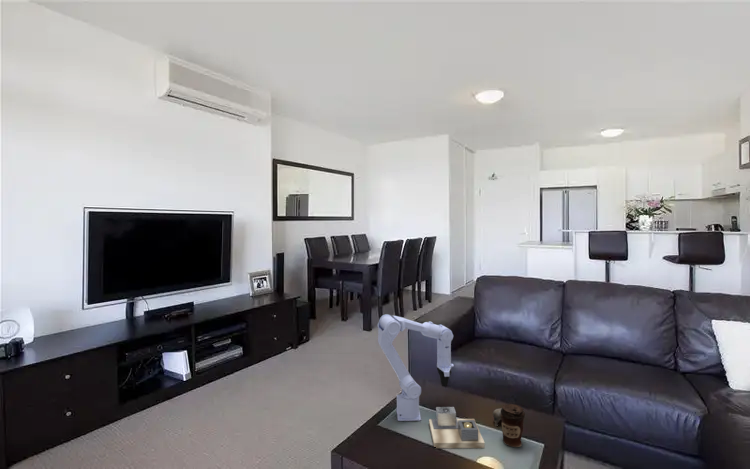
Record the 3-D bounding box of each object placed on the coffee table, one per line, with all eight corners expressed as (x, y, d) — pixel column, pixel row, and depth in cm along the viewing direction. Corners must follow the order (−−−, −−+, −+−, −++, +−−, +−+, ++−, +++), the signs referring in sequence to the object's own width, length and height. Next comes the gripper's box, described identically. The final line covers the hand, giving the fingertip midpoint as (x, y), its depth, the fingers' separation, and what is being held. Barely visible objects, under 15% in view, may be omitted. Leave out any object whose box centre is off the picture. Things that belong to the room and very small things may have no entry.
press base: (434, 448, 132) (434, 431, 131) (429, 423, 146) (428, 409, 146) (484, 447, 131) (484, 431, 131) (474, 423, 146) (474, 408, 146)
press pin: (464, 437, 134) (464, 426, 133) (462, 432, 137) (462, 422, 136) (473, 437, 134) (472, 426, 133) (471, 432, 136) (470, 422, 136)
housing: (437, 427, 141) (437, 413, 140) (436, 420, 145) (436, 406, 145) (456, 427, 140) (456, 413, 140) (454, 420, 145) (453, 406, 144)
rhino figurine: (522, 418, 149) (522, 404, 148) (497, 428, 143) (497, 413, 142) (514, 413, 153) (514, 400, 152) (489, 423, 146) (489, 408, 146)
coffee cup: (522, 453, 128) (522, 417, 127) (497, 445, 132) (497, 410, 131) (526, 439, 135) (526, 405, 134) (503, 432, 140) (503, 399, 139)
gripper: (456, 361, 148) (457, 393, 149) (450, 348, 163) (450, 377, 164) (439, 361, 149) (439, 394, 149) (434, 348, 163) (434, 377, 164)
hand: (444, 385), depth 157 cm, fingers closed
